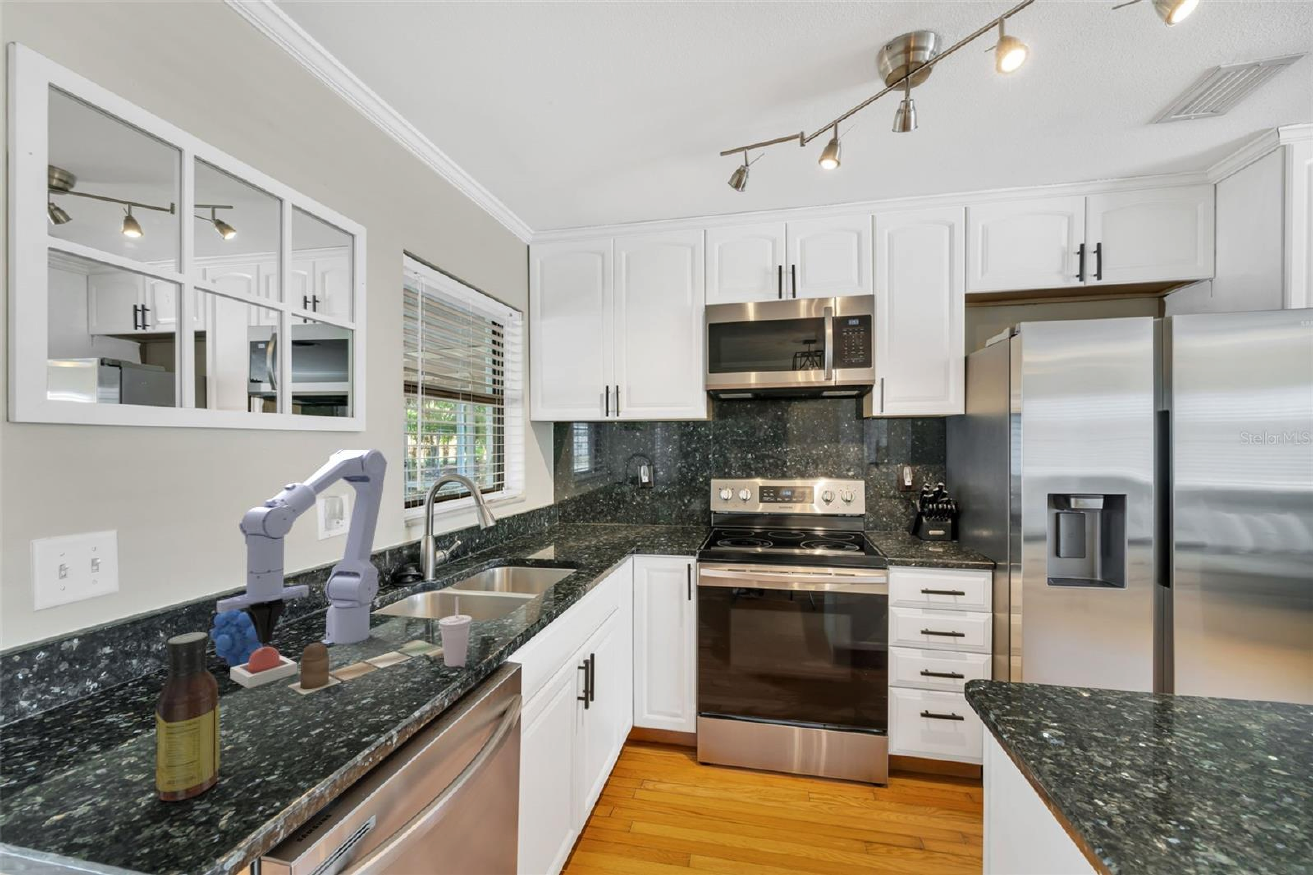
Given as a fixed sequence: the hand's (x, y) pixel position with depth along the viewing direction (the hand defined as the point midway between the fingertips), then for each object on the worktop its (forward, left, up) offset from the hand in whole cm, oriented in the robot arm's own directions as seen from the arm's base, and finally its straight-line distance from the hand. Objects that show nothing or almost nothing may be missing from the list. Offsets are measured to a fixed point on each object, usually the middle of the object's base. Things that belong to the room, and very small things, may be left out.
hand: (264, 642), depth 104 cm
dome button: (0, 0, -6) cm, 6 cm away
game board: (+12, +14, -7) cm, 20 cm away
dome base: (0, 0, -7) cm, 7 cm away
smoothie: (+25, +24, -8) cm, 36 cm away
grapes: (-12, -1, -8) cm, 14 cm away
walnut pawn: (+12, +4, -6) cm, 14 cm away
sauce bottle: (+30, -20, -8) cm, 37 cm away
